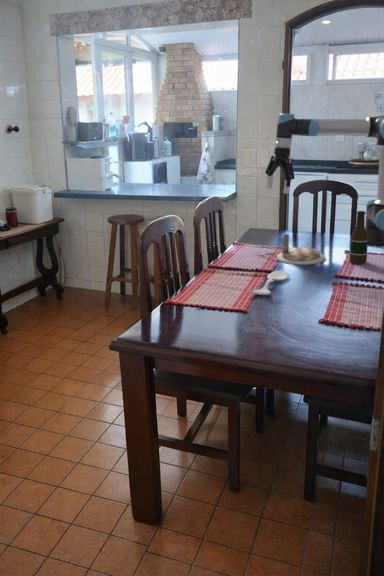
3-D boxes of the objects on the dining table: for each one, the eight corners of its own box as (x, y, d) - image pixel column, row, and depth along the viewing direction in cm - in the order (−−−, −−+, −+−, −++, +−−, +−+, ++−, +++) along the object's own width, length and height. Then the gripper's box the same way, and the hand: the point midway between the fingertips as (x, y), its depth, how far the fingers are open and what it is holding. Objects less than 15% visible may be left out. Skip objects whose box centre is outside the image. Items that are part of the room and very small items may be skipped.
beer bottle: (364, 260, 244) (368, 209, 236) (368, 264, 237) (372, 212, 229) (347, 260, 245) (350, 210, 237) (350, 264, 237) (354, 213, 230)
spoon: (247, 298, 201) (247, 290, 200) (271, 275, 228) (271, 267, 227) (269, 301, 197) (269, 292, 196) (291, 277, 224) (291, 269, 223)
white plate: (297, 249, 266) (297, 247, 266) (334, 257, 249) (334, 255, 249) (267, 258, 253) (267, 256, 252) (304, 267, 236) (304, 265, 235)
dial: (315, 250, 259) (315, 229, 255) (323, 260, 242) (324, 237, 238) (279, 251, 259) (279, 230, 256) (285, 261, 242) (285, 238, 239)
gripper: (261, 144, 257) (256, 187, 264) (293, 149, 237) (287, 195, 244) (273, 144, 261) (268, 186, 268) (305, 149, 241) (299, 195, 247)
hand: (277, 191), depth 256 cm, fingers open, 13 cm apart
